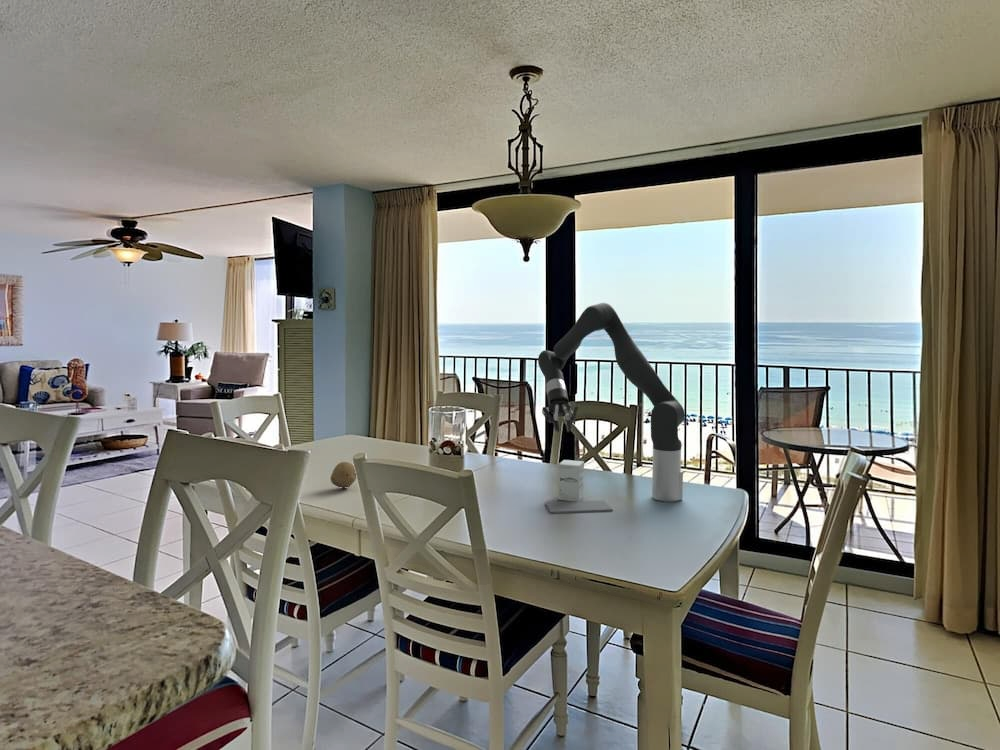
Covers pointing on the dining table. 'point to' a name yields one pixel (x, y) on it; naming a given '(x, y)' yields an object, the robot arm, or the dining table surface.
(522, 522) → the dining table surface
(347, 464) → the natural sponge
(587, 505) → the mat
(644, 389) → the robot arm
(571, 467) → the supplement box
